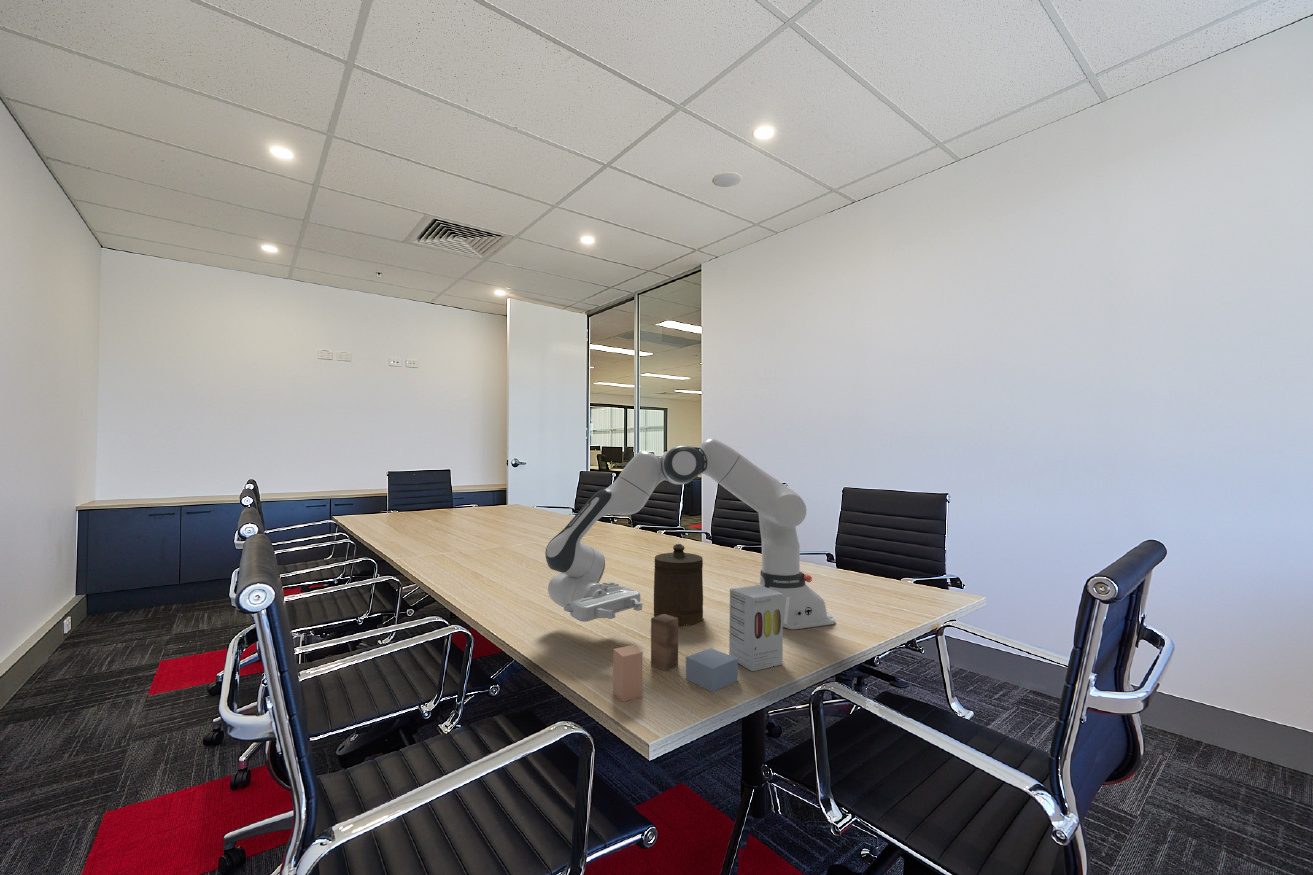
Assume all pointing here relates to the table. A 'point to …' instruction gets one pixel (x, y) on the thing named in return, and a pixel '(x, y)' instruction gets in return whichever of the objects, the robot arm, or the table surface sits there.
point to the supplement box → (756, 627)
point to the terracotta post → (627, 673)
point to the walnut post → (664, 642)
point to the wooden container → (679, 586)
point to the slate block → (711, 669)
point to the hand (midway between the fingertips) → (627, 611)
